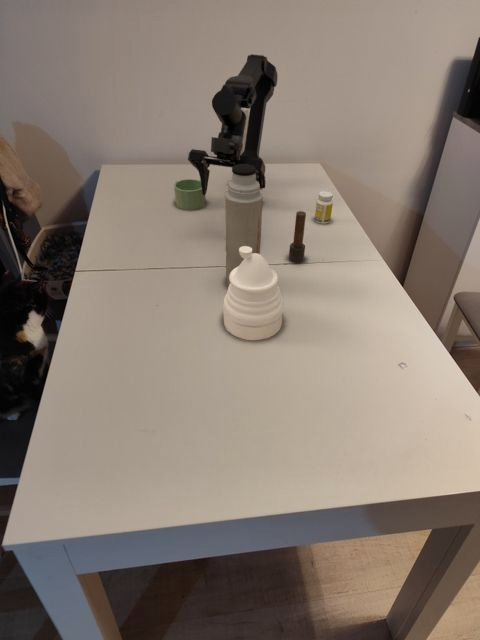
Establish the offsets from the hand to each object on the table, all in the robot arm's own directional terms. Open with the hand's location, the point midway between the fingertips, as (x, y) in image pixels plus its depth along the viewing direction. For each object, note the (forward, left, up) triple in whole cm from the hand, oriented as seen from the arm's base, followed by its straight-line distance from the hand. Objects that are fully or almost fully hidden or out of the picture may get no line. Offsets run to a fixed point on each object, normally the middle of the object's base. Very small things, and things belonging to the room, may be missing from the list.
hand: (221, 197), depth 112 cm
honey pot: (+29, +15, -14) cm, 36 cm away
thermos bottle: (+15, +9, -14) cm, 23 cm away
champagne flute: (-44, -7, -14) cm, 47 cm away
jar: (-24, -18, -14) cm, 33 cm away
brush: (0, +20, -14) cm, 25 cm away
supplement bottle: (-25, +24, -14) cm, 38 cm away
